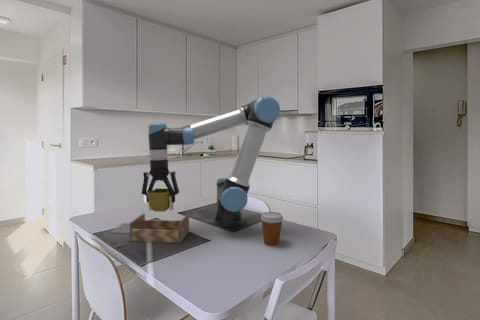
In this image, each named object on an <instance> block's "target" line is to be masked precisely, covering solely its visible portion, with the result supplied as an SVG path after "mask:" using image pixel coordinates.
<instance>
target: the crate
mask: <svg viewBox="0 0 480 320" xmlns="http://www.w3.org/2000/svg"><path fill="white" fill-rule="evenodd" d="M129 224H130V234H129V241H130V242H143V243H144V242H145V243H146V242H148V243H149V242H150V243H178V244H179V243H180V244H181V243H182V242H183V241H184V239H185V237H186V236H187V234H188V233H189V232H190V214H186V215H185V216H183V218H182V219H181V220H175V219H174V220H172V219H171V220H169V219H146V214H145V213H143V212H142V214H140V215H139V216H137V217H136V218H134V219H133V220H131V221H129Z"/></svg>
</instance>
